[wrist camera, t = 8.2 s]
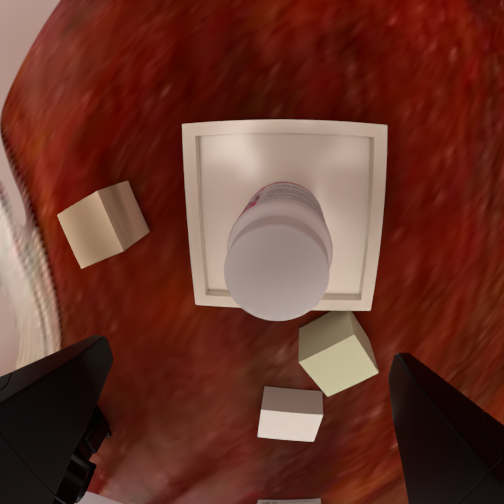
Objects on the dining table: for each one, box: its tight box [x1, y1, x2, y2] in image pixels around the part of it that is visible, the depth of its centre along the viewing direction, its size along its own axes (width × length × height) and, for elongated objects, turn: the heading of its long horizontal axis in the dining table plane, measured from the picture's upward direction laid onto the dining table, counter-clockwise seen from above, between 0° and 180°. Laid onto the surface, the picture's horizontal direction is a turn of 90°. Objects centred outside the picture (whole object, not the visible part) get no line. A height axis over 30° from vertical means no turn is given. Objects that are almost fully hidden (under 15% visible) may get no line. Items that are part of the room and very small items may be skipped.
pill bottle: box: [224, 182, 333, 321], centre depth 16 cm, size 5×5×8 cm
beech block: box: [57, 181, 150, 269], centre depth 20 cm, size 4×4×4 cm
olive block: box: [299, 311, 379, 397], centre depth 21 cm, size 4×4×4 cm
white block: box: [258, 386, 323, 442], centre depth 25 cm, size 5×4×3 cm
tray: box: [182, 120, 387, 311], centre depth 19 cm, size 12×12×1 cm
